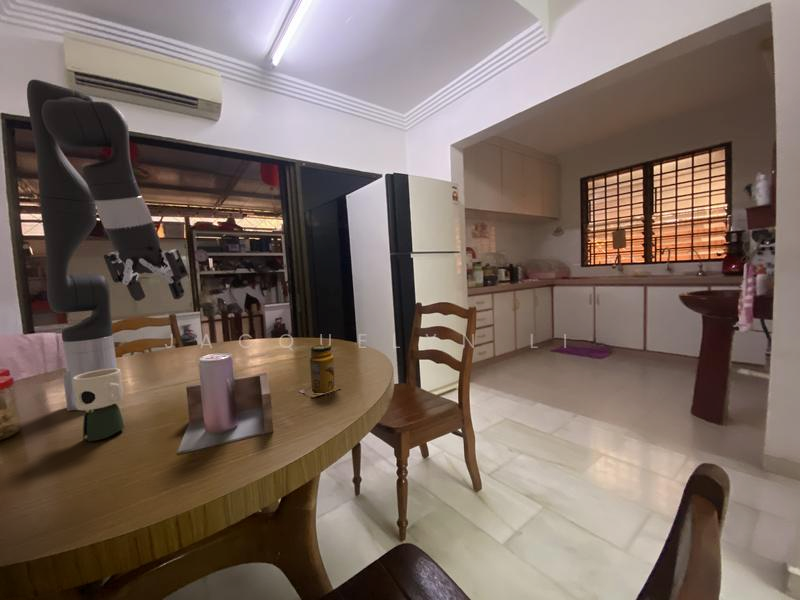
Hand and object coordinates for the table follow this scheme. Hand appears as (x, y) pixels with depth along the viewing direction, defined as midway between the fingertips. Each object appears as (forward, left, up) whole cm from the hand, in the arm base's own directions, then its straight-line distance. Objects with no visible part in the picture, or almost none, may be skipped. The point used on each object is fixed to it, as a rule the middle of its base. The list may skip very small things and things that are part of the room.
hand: (159, 298), depth 68 cm
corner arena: (+12, -9, -27) cm, 31 cm away
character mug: (-11, -1, -27) cm, 30 cm away
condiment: (+33, +1, -28) cm, 43 cm away
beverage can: (+10, -11, -27) cm, 31 cm away
